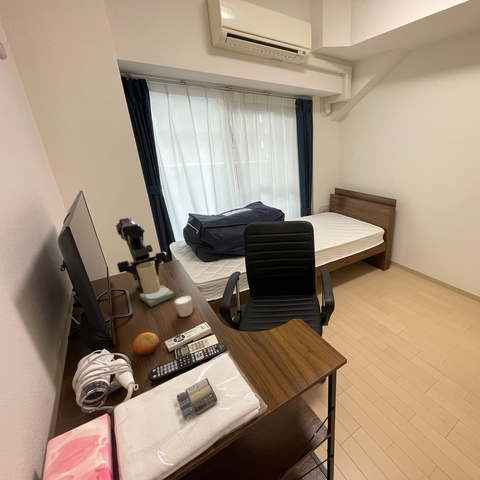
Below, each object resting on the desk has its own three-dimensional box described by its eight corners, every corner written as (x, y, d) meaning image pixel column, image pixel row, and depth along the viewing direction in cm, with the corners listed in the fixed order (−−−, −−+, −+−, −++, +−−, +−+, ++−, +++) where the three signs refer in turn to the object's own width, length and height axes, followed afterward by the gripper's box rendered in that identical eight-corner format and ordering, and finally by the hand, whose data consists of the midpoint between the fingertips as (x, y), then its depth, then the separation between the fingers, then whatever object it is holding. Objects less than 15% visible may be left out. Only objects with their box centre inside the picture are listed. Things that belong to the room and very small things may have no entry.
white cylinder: (197, 308, 118) (194, 296, 115) (188, 318, 112) (185, 304, 109) (183, 307, 119) (180, 295, 116) (174, 317, 112) (170, 304, 110)
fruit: (139, 339, 97) (145, 325, 95) (158, 348, 99) (165, 334, 96) (123, 356, 90) (129, 341, 87) (144, 365, 91) (151, 350, 88)
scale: (140, 298, 126) (139, 293, 125) (163, 288, 134) (162, 284, 133) (150, 306, 119) (149, 301, 118) (174, 296, 128) (173, 291, 127)
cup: (140, 292, 116) (132, 267, 111) (154, 284, 122) (147, 260, 117) (150, 295, 114) (143, 270, 109) (164, 287, 120) (157, 263, 115)
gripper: (111, 246, 106) (122, 278, 102) (161, 235, 118) (172, 264, 114) (114, 256, 114) (124, 287, 111) (160, 246, 126) (171, 273, 122)
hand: (149, 278), depth 114 cm, fingers closed on cup, 7 cm apart
